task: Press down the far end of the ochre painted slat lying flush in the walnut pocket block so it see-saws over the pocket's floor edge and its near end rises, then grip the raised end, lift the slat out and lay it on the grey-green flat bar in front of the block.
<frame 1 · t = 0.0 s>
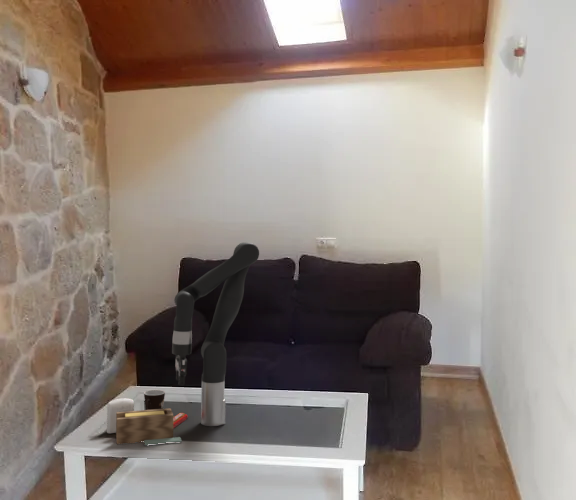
hand: (180, 382, 226), 17 cm above the table, tool pointing down, fingers open, 8 cm apart
grey-green flat bar: (162, 442, 208), on the table
coffee mug: (151, 417, 237), on the table
candy bar: (176, 424, 229), on the table
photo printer: (120, 431, 220), on the table
slat: (144, 421, 212), point 6 cm above the table, touching pocket block
pocket block: (144, 437, 212), on the table
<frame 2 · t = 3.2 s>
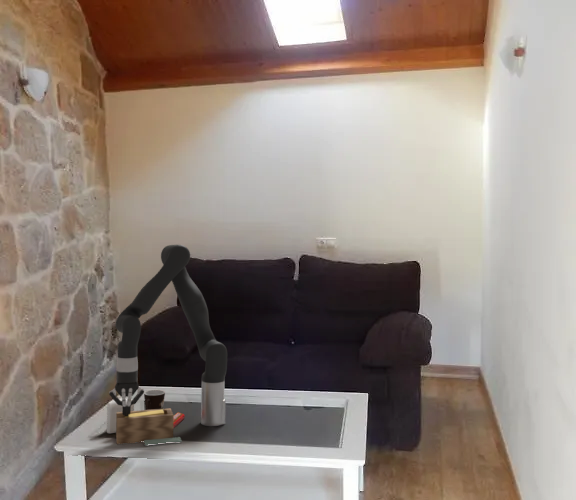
hand: (126, 415, 210), 9 cm above the table, tool pointing down, fingers closed
slat: (144, 421, 212), point 6 cm above the table, touching gripper, pocket block
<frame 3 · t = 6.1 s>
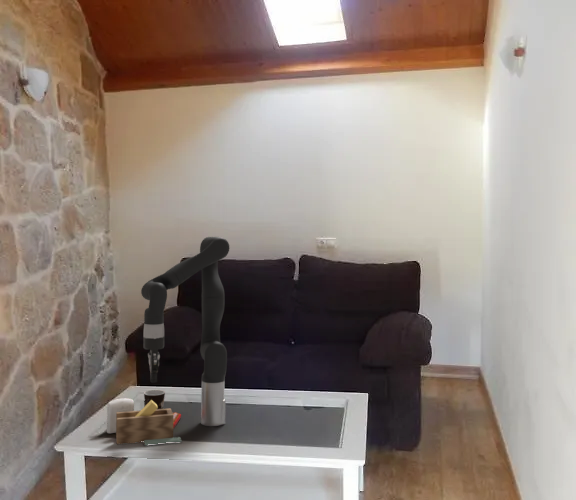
hand: (153, 381, 213), 21 cm above the table, tool pointing down, fingers closed
slat: (143, 420, 212), point 6 cm above the table, tilted 45°, touching pocket block
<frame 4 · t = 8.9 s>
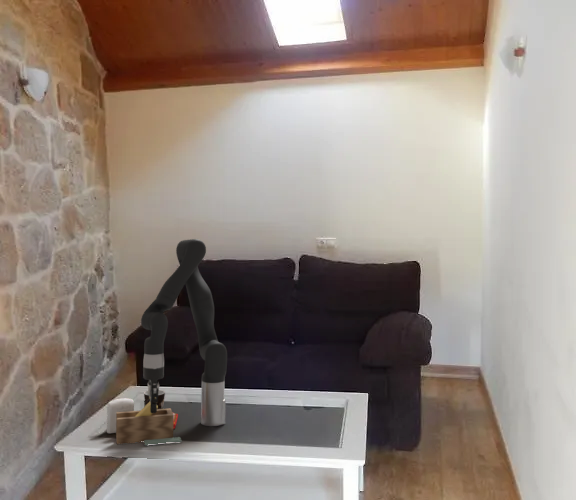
hand: (153, 410, 213), 10 cm above the table, tool pointing down, fingers closed on slat, 4 cm apart
slat: (143, 420, 212), point 6 cm above the table, tilted 45°, touching gripper, pocket block
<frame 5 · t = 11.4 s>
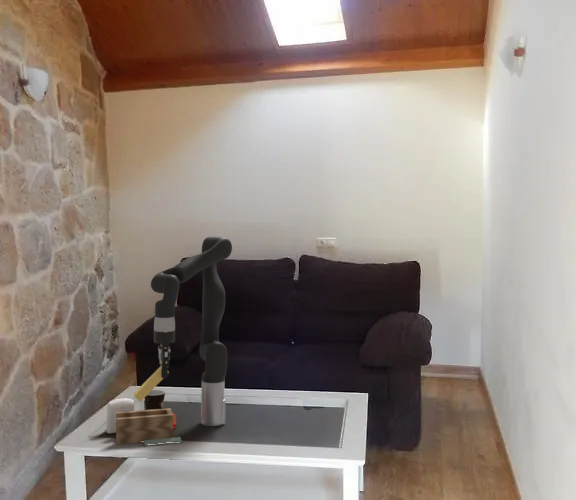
hand: (163, 376, 207), 24 cm above the table, tool pointing down, fingers closed on slat, 4 cm apart
slat: (154, 385, 206), point 21 cm above the table, tilted 45°, touching gripper
when the fingers open (11 cm above the table, at t = 14.1 s): slat drops 7 cm, resting on grey-green flat bar.
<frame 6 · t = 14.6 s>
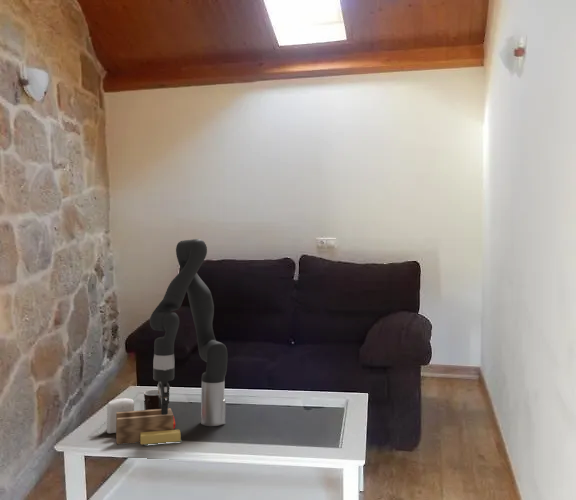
hand: (163, 410, 207), 12 cm above the table, tool pointing down, fingers open, 8 cm apart
slat: (160, 440, 207), point 1 cm above the table, touching grey-green flat bar
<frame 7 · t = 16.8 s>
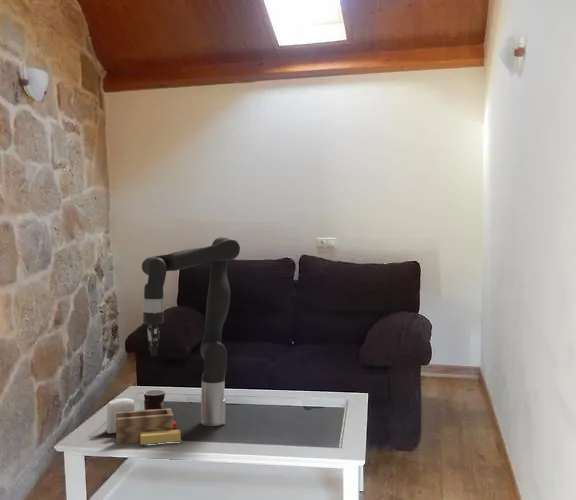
hand: (153, 353, 214), 31 cm above the table, tool pointing down, fingers open, 8 cm apart
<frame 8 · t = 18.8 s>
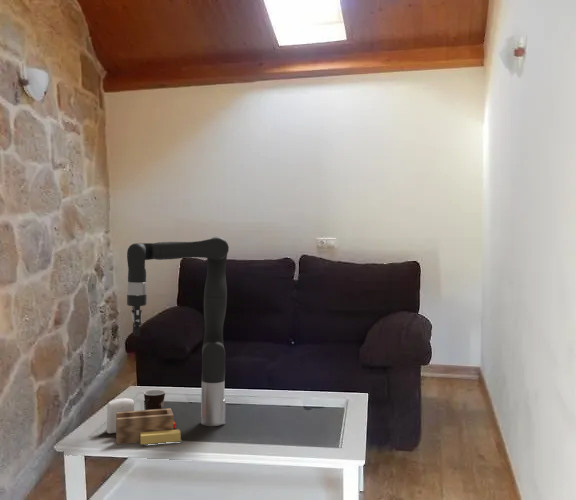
hand: (136, 334, 227), 36 cm above the table, tool pointing down, fingers open, 8 cm apart
at the end: slat inside the target area (1.9 cm from its centre), point 0.8 cm above the table; slat moved 10.3 cm from its start; the gripper is holding nothing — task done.
